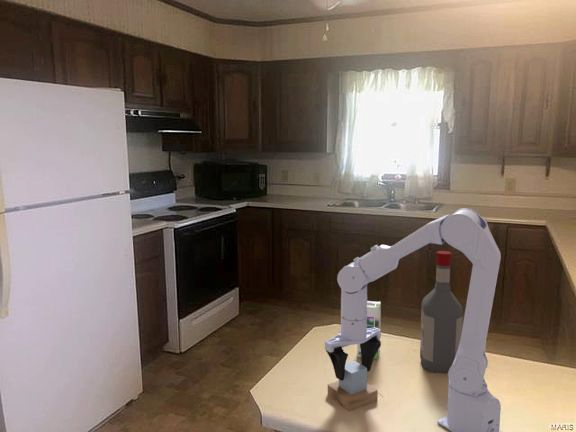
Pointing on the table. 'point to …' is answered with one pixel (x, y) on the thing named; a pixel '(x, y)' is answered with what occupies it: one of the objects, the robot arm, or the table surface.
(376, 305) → the syrup box
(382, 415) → the table surface
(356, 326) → the robot arm
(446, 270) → the liquor
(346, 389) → the blue block
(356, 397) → the walnut block
